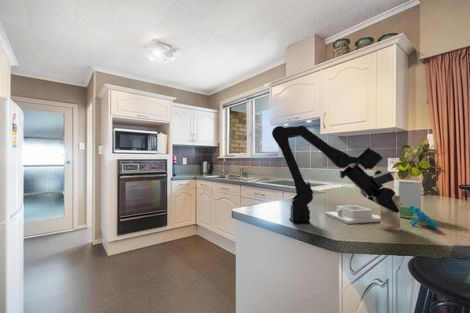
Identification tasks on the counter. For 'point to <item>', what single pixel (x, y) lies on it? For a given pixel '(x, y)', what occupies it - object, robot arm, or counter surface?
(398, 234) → the counter surface
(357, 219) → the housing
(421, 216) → the blue cog crank toy
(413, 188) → the skincare box
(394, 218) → the block
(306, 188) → the robot arm
